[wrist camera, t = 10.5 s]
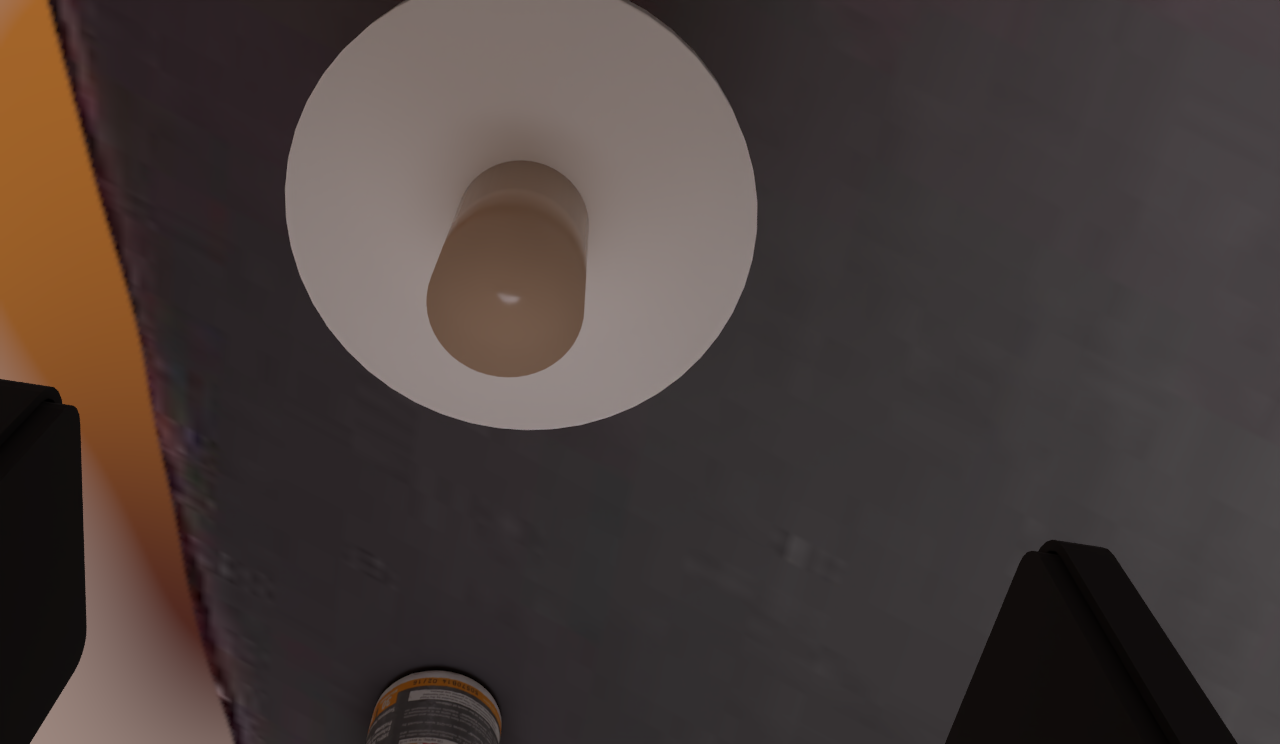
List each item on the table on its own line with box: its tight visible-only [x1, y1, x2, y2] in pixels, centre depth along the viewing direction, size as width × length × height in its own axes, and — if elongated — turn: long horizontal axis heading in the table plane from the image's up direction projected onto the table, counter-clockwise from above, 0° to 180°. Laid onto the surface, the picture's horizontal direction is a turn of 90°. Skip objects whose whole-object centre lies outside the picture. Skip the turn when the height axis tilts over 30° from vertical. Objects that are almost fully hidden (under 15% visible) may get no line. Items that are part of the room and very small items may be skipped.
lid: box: [285, 0, 757, 430], centre depth 23 cm, size 10×10×6 cm
